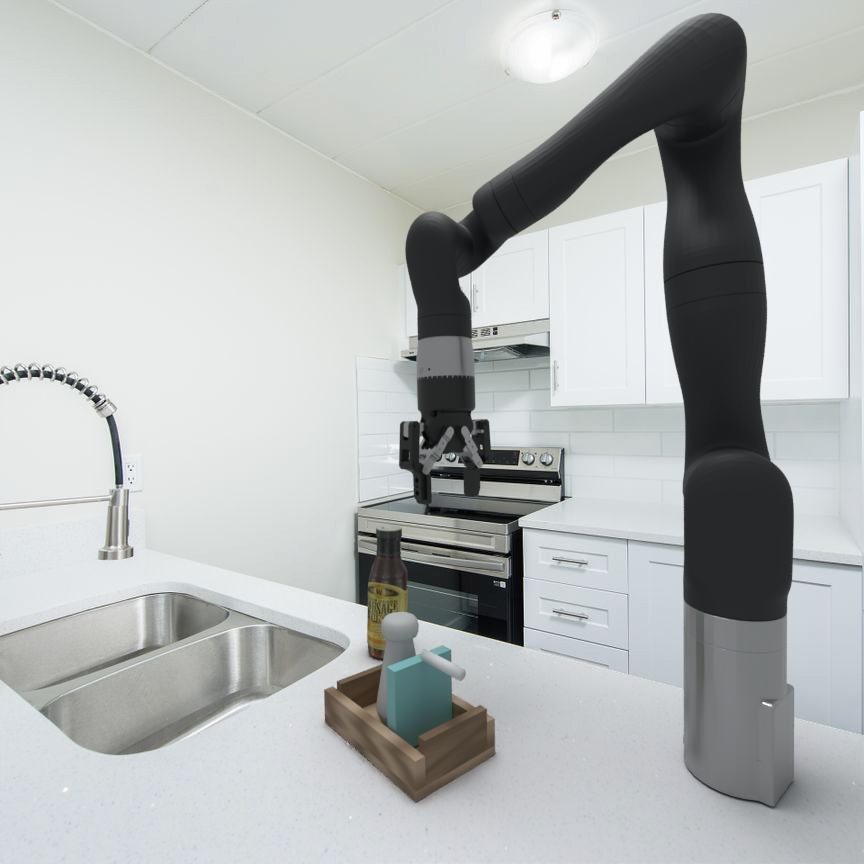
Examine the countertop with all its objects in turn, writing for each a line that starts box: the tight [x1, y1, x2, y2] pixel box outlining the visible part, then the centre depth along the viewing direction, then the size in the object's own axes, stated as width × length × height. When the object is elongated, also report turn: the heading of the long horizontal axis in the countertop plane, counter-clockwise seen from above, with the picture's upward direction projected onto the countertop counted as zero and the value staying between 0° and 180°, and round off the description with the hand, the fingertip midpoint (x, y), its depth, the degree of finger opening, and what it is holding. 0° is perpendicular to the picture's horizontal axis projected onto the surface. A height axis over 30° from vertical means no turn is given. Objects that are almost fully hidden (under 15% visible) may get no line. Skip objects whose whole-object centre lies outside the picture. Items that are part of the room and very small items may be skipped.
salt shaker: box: [376, 611, 420, 728], centre depth 62 cm, size 6×6×13 cm
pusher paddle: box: [386, 645, 467, 747], centre depth 57 cm, size 8×8×10 cm
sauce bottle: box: [366, 524, 409, 660], centre depth 83 cm, size 7×6×20 cm
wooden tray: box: [323, 663, 496, 803], centre depth 61 cm, size 18×11×6 cm, turn 40°
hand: (448, 499), depth 69 cm, fingers open, 8 cm apart
